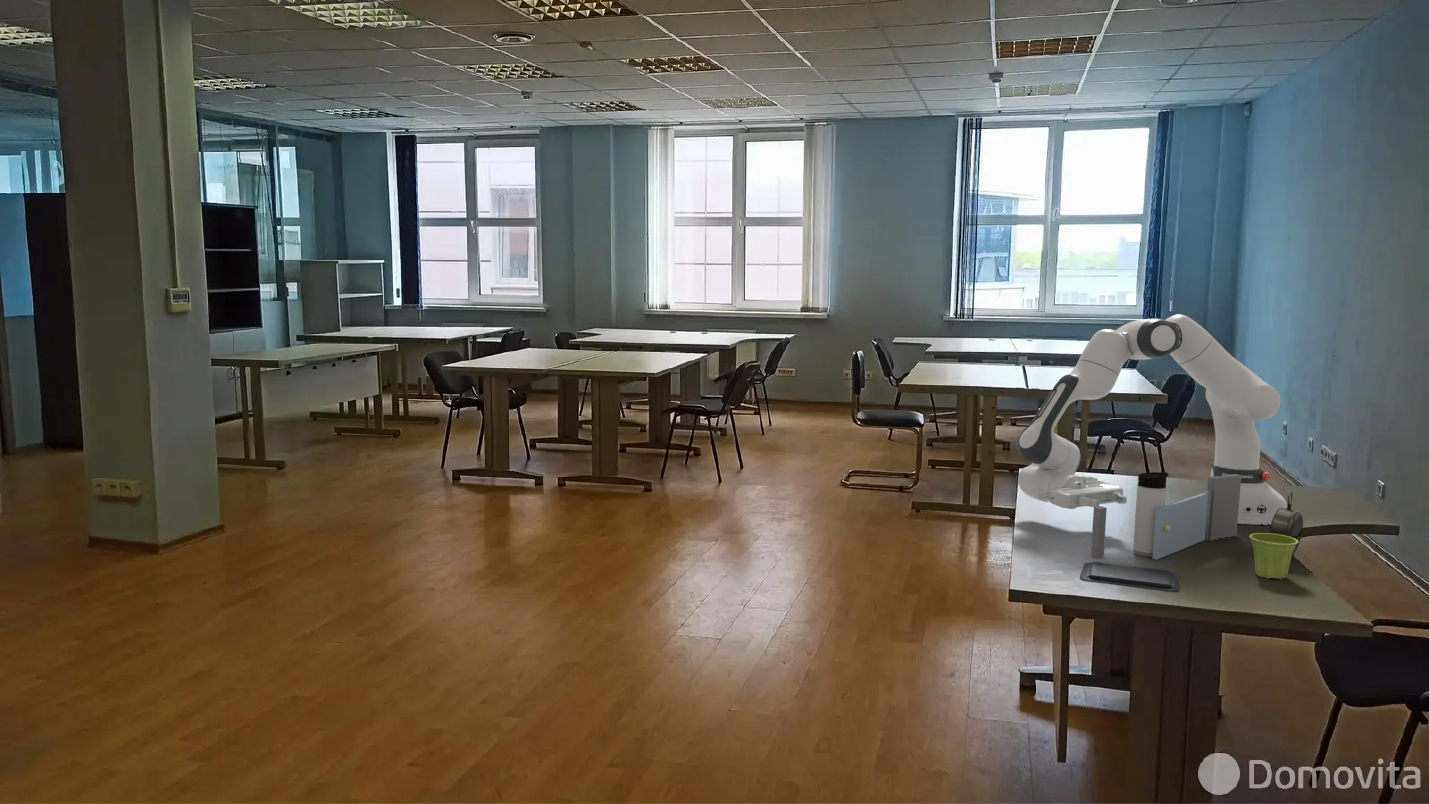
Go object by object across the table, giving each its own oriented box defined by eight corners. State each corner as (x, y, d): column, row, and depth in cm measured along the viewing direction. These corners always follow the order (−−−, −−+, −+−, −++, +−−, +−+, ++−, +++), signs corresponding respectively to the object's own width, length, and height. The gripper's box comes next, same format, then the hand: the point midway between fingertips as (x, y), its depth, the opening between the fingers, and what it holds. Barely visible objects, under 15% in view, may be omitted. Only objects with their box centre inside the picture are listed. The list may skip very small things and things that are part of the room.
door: (1201, 538, 249) (1205, 490, 248) (1212, 540, 248) (1215, 492, 246) (1151, 559, 230) (1154, 507, 229) (1161, 561, 229) (1165, 509, 227)
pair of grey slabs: (1230, 534, 254) (1234, 474, 252) (1237, 536, 252) (1242, 475, 250) (1090, 556, 233) (1094, 490, 231) (1097, 558, 231) (1101, 491, 229)
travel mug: (1165, 558, 232) (1171, 475, 229) (1136, 556, 233) (1141, 474, 230) (1159, 551, 238) (1164, 470, 235) (1130, 549, 239) (1135, 469, 236)
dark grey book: (1078, 574, 214) (1085, 557, 228) (1078, 582, 214) (1084, 565, 228) (1179, 587, 206) (1179, 568, 219) (1179, 596, 206) (1179, 576, 219)
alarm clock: (1279, 551, 238) (1284, 486, 236) (1304, 556, 235) (1310, 490, 233) (1264, 560, 231) (1270, 493, 229) (1290, 565, 227) (1296, 497, 225)
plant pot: (1275, 584, 213) (1278, 545, 212) (1237, 572, 221) (1240, 535, 220) (1304, 579, 216) (1308, 541, 215) (1265, 567, 225) (1269, 531, 224)
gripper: (1039, 482, 252) (1081, 493, 240) (1097, 476, 261) (1140, 486, 249) (1038, 506, 253) (1079, 518, 241) (1096, 499, 262) (1138, 510, 250)
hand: (1111, 502), depth 245 cm, fingers open, 8 cm apart
